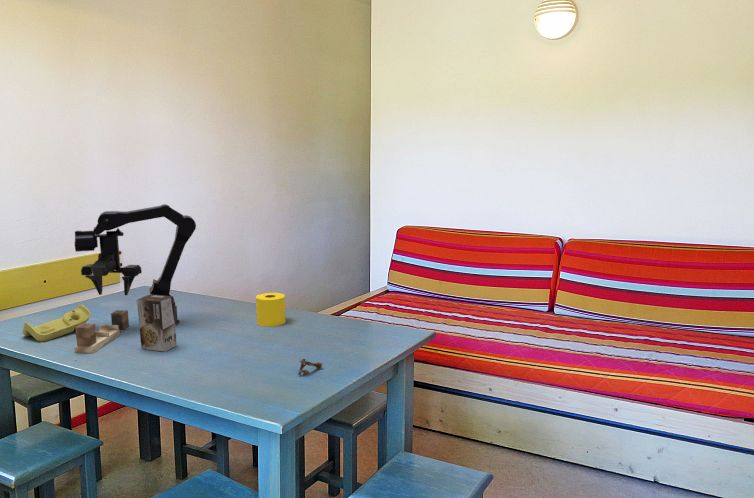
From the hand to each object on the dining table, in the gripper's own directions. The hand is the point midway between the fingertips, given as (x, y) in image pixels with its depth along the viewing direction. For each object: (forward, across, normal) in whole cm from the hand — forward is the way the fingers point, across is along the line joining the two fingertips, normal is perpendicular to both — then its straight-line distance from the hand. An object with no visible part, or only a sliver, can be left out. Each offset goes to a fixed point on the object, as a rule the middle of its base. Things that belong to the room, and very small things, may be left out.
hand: (113, 294), depth 212 cm
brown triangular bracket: (+12, +75, -31) cm, 82 cm away
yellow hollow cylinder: (+12, +50, +14) cm, 54 cm away
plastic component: (+13, -17, -5) cm, 22 cm away
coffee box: (+12, +23, -16) cm, 30 cm away
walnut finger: (+12, +1, +1) cm, 12 cm away
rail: (+12, +2, -14) cm, 19 cm away
